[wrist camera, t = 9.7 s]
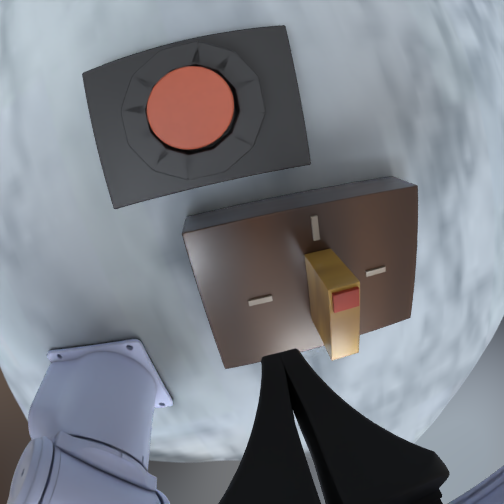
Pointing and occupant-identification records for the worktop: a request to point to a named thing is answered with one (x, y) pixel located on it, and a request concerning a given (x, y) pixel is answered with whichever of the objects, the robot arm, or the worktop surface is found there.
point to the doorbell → (224, 148)
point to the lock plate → (301, 263)
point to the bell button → (190, 107)
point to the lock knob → (334, 302)
